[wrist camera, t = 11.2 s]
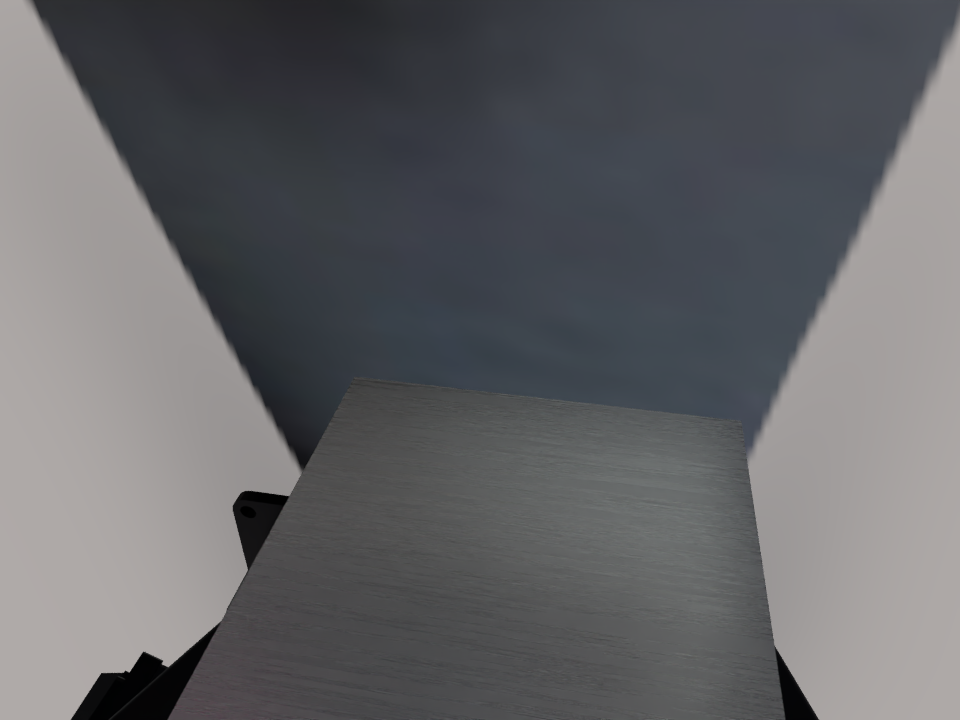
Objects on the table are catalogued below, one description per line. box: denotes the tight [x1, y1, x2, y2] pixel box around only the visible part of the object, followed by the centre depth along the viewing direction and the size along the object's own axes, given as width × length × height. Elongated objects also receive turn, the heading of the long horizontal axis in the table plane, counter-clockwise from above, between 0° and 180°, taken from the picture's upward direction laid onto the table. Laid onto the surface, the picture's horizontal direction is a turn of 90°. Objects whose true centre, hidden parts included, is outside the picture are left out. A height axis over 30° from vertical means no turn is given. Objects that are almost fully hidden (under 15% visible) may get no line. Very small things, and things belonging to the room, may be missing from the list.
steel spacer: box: [168, 377, 785, 720], centre depth 8 cm, size 4×4×4 cm
